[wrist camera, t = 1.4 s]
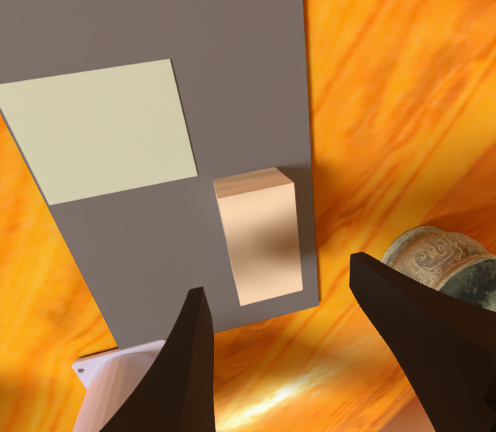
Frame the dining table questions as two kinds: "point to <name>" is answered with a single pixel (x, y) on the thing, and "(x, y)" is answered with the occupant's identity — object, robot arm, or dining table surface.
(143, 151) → the rubber mat
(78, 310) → the dining table surface
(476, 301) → the vessel
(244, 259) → the birch block
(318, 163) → the dining table surface
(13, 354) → the dining table surface
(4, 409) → the dining table surface
